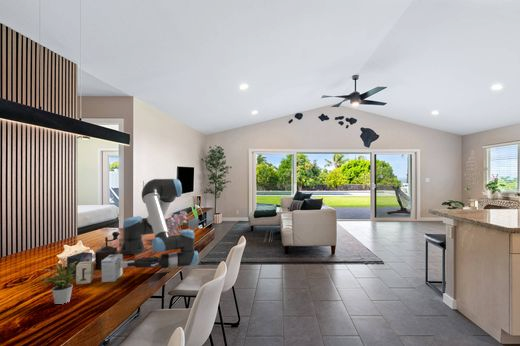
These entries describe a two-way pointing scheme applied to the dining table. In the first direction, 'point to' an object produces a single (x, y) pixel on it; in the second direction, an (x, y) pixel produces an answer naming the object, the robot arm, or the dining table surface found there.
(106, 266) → the light bulb box
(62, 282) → the house plant
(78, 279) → the beige block
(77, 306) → the dining table surface
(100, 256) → the manual coffee grinder
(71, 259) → the small box
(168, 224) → the flower
